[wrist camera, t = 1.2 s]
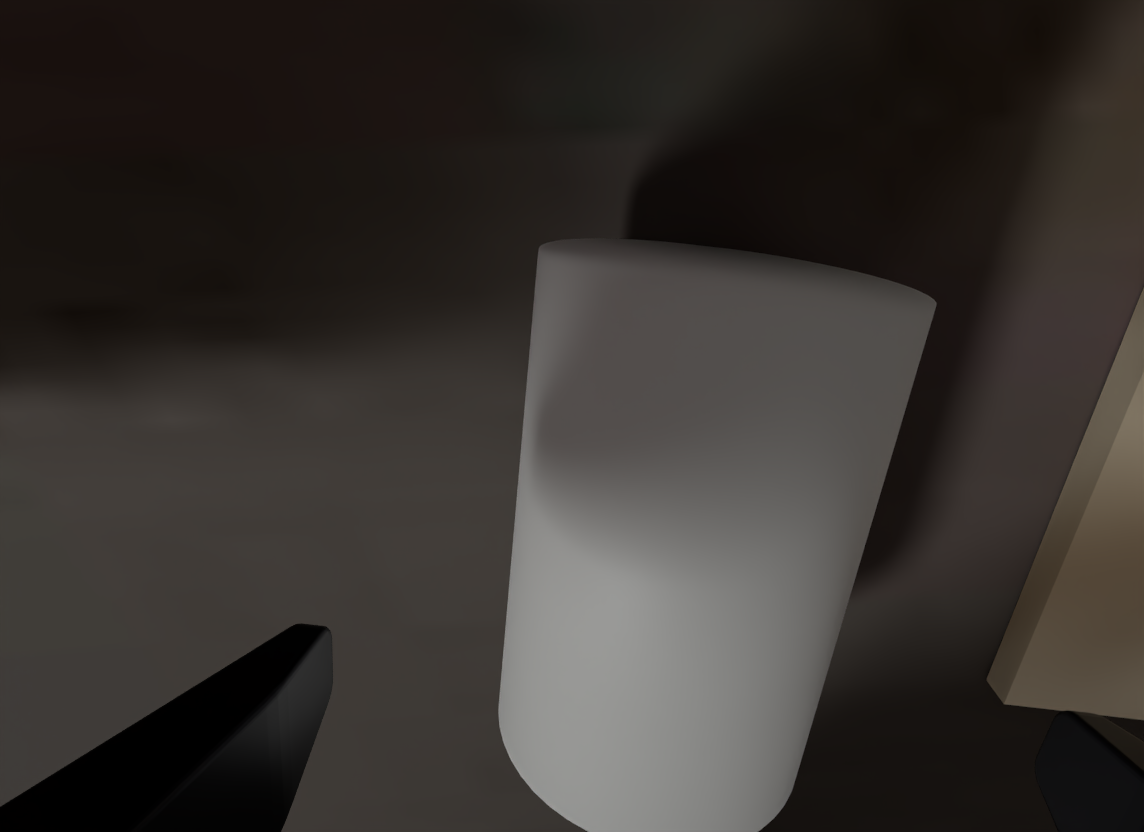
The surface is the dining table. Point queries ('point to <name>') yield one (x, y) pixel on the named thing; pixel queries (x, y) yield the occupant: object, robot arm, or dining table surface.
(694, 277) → the roll
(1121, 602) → the roll holder
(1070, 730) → the robot arm
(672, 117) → the dining table surface
